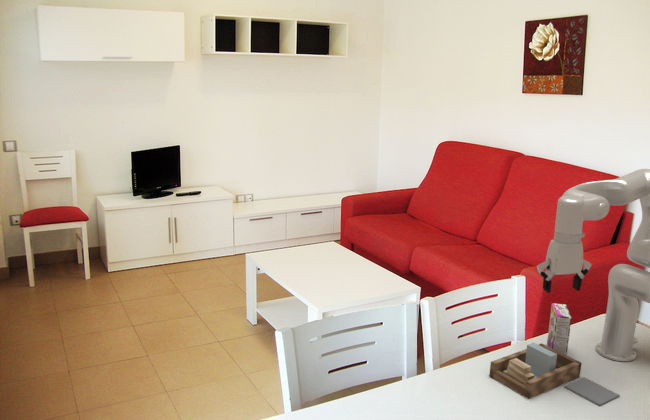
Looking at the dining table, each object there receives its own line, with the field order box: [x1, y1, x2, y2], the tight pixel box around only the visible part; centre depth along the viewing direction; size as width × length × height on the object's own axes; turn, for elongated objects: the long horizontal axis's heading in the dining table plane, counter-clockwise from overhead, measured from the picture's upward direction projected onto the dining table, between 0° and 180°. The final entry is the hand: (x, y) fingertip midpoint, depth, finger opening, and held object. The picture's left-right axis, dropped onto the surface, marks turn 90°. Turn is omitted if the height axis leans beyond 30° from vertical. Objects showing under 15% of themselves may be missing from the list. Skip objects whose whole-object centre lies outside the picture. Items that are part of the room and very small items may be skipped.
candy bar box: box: [546, 302, 572, 356], centre depth 208 cm, size 11×5×16 cm, turn 168°
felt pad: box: [563, 376, 620, 407], centre depth 187 cm, size 10×12×1 cm
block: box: [525, 342, 557, 378], centre depth 195 cm, size 3×9×9 cm, turn 33°
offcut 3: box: [503, 370, 526, 386], centre depth 191 cm, size 3×10×2 cm, turn 34°
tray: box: [488, 343, 583, 400], centre depth 195 cm, size 25×15×5 cm, turn 123°
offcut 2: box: [507, 366, 536, 384], centre depth 190 cm, size 3×8×2 cm, turn 32°
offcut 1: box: [509, 358, 531, 375], centre depth 190 cm, size 3×6×2 cm, turn 30°
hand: (561, 290), depth 190 cm, fingers open, 9 cm apart
